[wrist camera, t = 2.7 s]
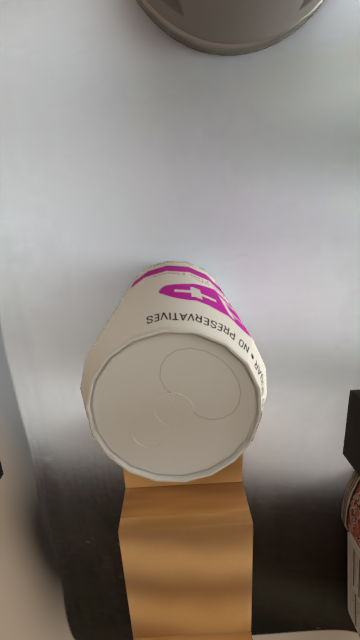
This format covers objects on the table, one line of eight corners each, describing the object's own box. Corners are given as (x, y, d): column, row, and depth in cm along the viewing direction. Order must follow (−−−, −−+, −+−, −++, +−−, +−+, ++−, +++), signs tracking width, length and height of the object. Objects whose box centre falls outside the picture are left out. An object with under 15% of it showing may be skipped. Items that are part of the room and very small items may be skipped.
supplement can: (171, 237, 26) (168, 266, 11) (243, 307, 27) (319, 408, 13) (104, 310, 27) (28, 416, 13) (176, 372, 29) (179, 523, 15)
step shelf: (125, 406, 30) (95, 523, 19) (234, 400, 30) (271, 513, 19) (146, 583, 37) (134, 747, 26) (234, 578, 37) (261, 740, 26)
